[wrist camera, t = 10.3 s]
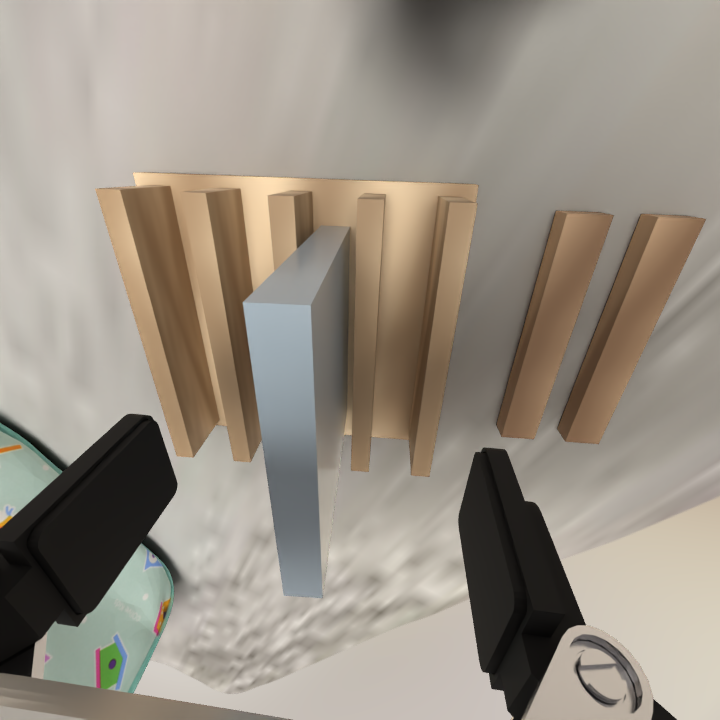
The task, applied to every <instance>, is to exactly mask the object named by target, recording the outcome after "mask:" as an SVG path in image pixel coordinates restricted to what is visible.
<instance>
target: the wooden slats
mask: <svg viewBox="0 0 720 720" xmlns="http://www.w3.org/2000/svg"><path fill="white" fill-rule="evenodd" d="M613 216H614V215H610V214H605V213H600V212H577V211H556V213H555V217H554V220H553V224H552V227H551V231H550V235H549V238H548V242H547V245H546V249H545V252H544V256H543V260H542V263H541V267H540V270H539V274H538V277H537V281H536V285H535V288H534V292H533V295H532V299H531V302H530V306H529V310H528V313H527V317H526V320H525V324H524V327H523V331H522V335H521V338H520V342H519V345H518V349H517V352H516V356H515V360H514V363H513V367H512V370H511V374H510V377H509V381H508V385H507V388H506V392H505V395H504V399H503V402H502V406H501V410H500V413H499V417H498V420H497V424H496V425H497V427H498V430H499V432H500V435H501V437H512V438H525V439H534V438H535V435H536V432H537V429H538V426H539V424H540V421H541V418H542V415H543V412H544V410H545V407H546V404H547V401H548V398H549V396H550V393H551V390H552V387H553V384H554V382H555V379H556V376H557V373H558V370H559V368H560V365H561V362H562V359H563V356H564V353H565V351H566V348H567V345H568V342H569V339H570V337H571V334H572V331H573V328H574V325H575V323H576V320H577V317H578V314H579V311H580V309H581V306H582V303H583V300H584V297H585V295H586V292H587V289H588V286H589V283H590V281H591V278H592V275H593V272H594V269H595V266H596V264H597V261H598V258H599V255H600V252H601V250H602V247H603V244H604V241H605V238H606V236H607V233H608V230H609V227H610V224H611V222H612V219H613ZM705 220H706V219H703V218H697V217H690V216H679V215H654V214H641V216H640V219H639V221H638V224H637V226H636V229H635V231H634V234H633V236H632V239H631V242H630V244H629V247H628V249H627V252H626V254H625V257H624V259H623V262H622V265H621V267H620V270H619V272H618V275H617V277H616V280H615V282H614V285H613V288H612V290H611V293H610V295H609V298H608V300H607V303H606V305H605V308H604V311H603V313H602V316H601V318H600V321H599V323H598V326H597V328H596V331H595V334H594V336H593V339H592V341H591V344H590V346H589V349H588V351H587V354H586V357H585V359H584V362H583V364H582V367H581V369H580V372H579V374H578V377H577V380H576V382H575V385H574V387H573V390H572V392H571V395H570V397H569V400H568V403H567V405H566V408H565V410H564V413H563V415H562V418H561V420H560V423H559V426H558V428H557V429H558V431H559V432H560V434H561V436H562V437H563V439H564V440H565V442H579V443H592V444H599V442H600V440H601V438H602V436H603V434H604V431H605V429H606V427H607V425H608V423H609V421H610V419H611V417H612V415H613V413H614V411H615V408H616V406H617V404H618V402H619V400H620V398H621V396H622V394H623V392H624V390H625V388H626V385H627V383H628V381H629V379H630V377H631V375H632V373H633V371H634V369H635V367H636V365H637V362H638V360H639V358H640V356H641V354H642V352H643V350H644V348H645V346H646V344H647V342H648V339H649V337H650V335H651V333H652V331H653V329H654V327H655V325H656V323H657V321H658V319H659V316H660V314H661V312H662V310H663V308H664V306H665V304H666V302H667V300H668V298H669V296H670V293H671V291H672V289H673V287H674V285H675V283H676V281H677V279H678V277H679V275H680V273H681V270H682V268H683V266H684V264H685V262H686V260H687V258H688V256H689V254H690V252H691V250H692V247H693V245H694V243H695V241H696V239H697V237H698V235H699V233H700V231H701V229H702V227H703V224H704V222H705Z"/></svg>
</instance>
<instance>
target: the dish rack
mask: <svg viewBox="0 0 720 720" xmlns="http://www.w3.org/2000/svg"><path fill="white" fill-rule="evenodd" d="M133 175H134V179H135V183H136V186H129V187H114V188H99V189H95V190H96V193H97V196H98V200H99V203H100V206H101V209H102V213H103V216H104V219H105V223H106V226H107V229H108V232H109V236H110V239H111V242H112V245H113V249H114V252H115V255H116V259H117V262H118V265H119V268H120V272H121V275H122V278H123V281H124V285H125V288H126V291H127V295H128V298H129V301H130V304H131V308H132V311H133V314H134V317H135V321H136V324H137V327H138V331H139V334H140V337H141V340H142V344H143V347H144V350H145V353H146V357H147V360H148V363H149V367H150V370H151V373H152V376H153V380H154V383H155V386H156V389H157V393H158V396H159V399H160V403H161V406H162V409H163V412H164V416H165V419H166V422H167V426H168V429H169V432H170V435H171V439H172V442H173V445H174V448H175V452H176V455H177V456H181V457H193V458H194V456H195V455H196V453H197V452H198V450H199V449H200V447H201V446H202V444H203V443H204V442H205V440H206V439H207V437H208V436H209V434H210V433H211V431H212V430H213V428H214V427H215V425H222V426H227V429H228V434H229V439H230V444H231V449H232V454H233V459H234V461H242V462H251V461H252V459H253V457H254V454H255V452H256V450H257V448H258V446H259V444H260V442H261V440H262V436H261V429H260V422H259V415H258V408H257V401H256V394H255V386H254V379H253V372H252V365H251V358H250V351H249V344H248V337H247V329H246V322H245V315H244V308H243V302H244V301H245V300H246V299H247V298H248V297H249V296H250V295H251V294H252V293H253V292H254V291H255V290H256V289H257V288H258V287H259V286H260V285H261V284H262V283H263V282H264V281H265V280H266V279H267V278H268V277H269V276H270V275H271V274H272V273H273V272H274V271H275V270H276V269H277V268H278V267H279V266H280V265H281V264H282V263H283V262H284V261H285V260H286V259H287V258H288V257H289V256H290V255H291V254H292V253H293V252H294V251H295V250H296V249H297V248H299V247H300V246H301V245H302V244H303V243H304V242H305V241H306V240H307V239H308V238H309V237H310V236H311V235H312V234H313V233H314V232H315V231H316V230H317V229H318V228H319V227H320V226H321V225H324V226H350V260H349V327H348V394H347V416H346V424H345V432H344V435H352V449H351V470H352V471H364V472H369V460H370V447H371V437H379V438H392V439H405V440H409V448H410V464H411V475H413V476H425V477H429V475H430V470H431V464H432V458H433V453H434V447H435V441H436V436H437V430H438V424H439V419H440V413H441V407H442V402H443V396H444V391H445V385H446V379H447V374H448V368H449V362H450V357H451V351H452V345H453V340H454V334H455V328H456V323H457V317H458V312H459V306H460V300H461V295H462V289H463V283H464V278H465V272H466V266H467V261H468V255H469V249H470V244H471V238H472V233H473V227H474V221H475V216H476V210H477V204H478V203H476V198H477V192H478V186H479V185H476V184H457V183H428V182H400V181H372V180H344V179H316V178H288V177H260V176H232V175H204V174H176V173H148V172H142V173H133Z"/></svg>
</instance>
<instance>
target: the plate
mask: <svg viewBox="0 0 720 720" xmlns="http://www.w3.org/2000/svg"><path fill="white" fill-rule="evenodd" d="M349 260H350V226H324V225H321V226H320V227H319V228H318V229H317V230H316V231H315V232H314V233H313V234H312V235H311V236H310V237H309V238H308V239H307V240H306V241H305V242H304V243H303V244H302V245H301V246H300V247H299V248H297V249H296V250H295V251H294V252H293V253H292V254H291V255H290V256H289V257H288V258H287V259H286V260H285V261H284V262H283V263H282V264H281V265H280V266H279V267H278V268H277V269H276V270H275V271H274V272H273V273H272V274H271V275H270V276H269V277H268V278H267V279H266V280H265V281H264V282H263V283H262V284H261V285H260V286H259V287H258V288H257V289H256V290H255V291H254V292H253V293H252V294H251V295H250V296H249V297H248V298H247V299H246V300H245V301H244V302H243V308H244V315H245V322H246V329H247V337H248V344H249V351H250V358H251V365H252V372H253V379H254V386H255V394H256V401H257V408H258V415H259V422H260V429H261V436H262V443H263V451H264V458H265V465H266V472H267V479H268V486H269V493H270V500H271V508H272V515H273V522H274V529H275V536H276V543H277V550H278V557H279V565H280V572H281V579H282V586H283V593H284V596H298V597H313V598H323V592H324V585H325V577H326V569H327V562H328V554H329V546H330V539H331V531H332V523H333V516H334V508H335V500H336V493H337V485H338V477H339V470H340V462H341V455H342V447H343V439H344V432H345V424H346V416H347V394H348V327H349Z"/></svg>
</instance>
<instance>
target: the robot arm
mask: <svg viewBox="0 0 720 720" xmlns="http://www.w3.org/2000/svg"><path fill="white" fill-rule="evenodd" d="M176 490H177V480H176V477H175V474H174V471H173V468H172V465H171V462H170V459H169V456H168V453H167V450H166V447H165V444H164V441H163V438H162V435H161V432H160V429H159V426H158V424H157V422H156V421H154V420H153V418H152V417H151V416H148V415H139V414H127V415H126V416H124V417H123V418H122V419H121V420H120V421H119V422H118V423H116V424H115V425H114V426H113V427H112V428H111V429H110V430H109V431H108V432H107V433H105V434H104V435H103V436H102V437H101V438H100V439H99V440H98V441H97V442H95V443H94V444H93V445H92V446H91V447H90V448H89V449H88V450H87V451H85V452H84V453H83V454H82V455H81V456H80V457H79V458H78V459H77V460H76V461H74V462H73V463H72V464H71V465H70V466H69V467H68V468H67V469H66V470H64V471H63V472H62V473H61V474H60V475H59V476H58V477H57V478H56V479H54V480H53V481H52V482H51V483H50V484H49V485H48V486H47V487H46V488H44V489H43V490H42V491H41V492H40V493H39V494H38V495H37V496H36V497H35V498H33V499H32V500H31V501H30V502H29V503H28V504H27V505H26V506H25V507H23V508H22V509H21V510H20V511H19V512H18V513H17V514H16V515H15V516H13V517H12V518H11V519H10V520H9V521H8V522H7V523H6V524H5V525H4V526H2V527H1V528H0V720H291V719H284V718H279V717H273V716H267V715H261V714H255V713H249V712H243V711H237V710H231V709H225V708H219V707H213V706H207V705H201V704H195V703H188V702H182V701H176V700H170V699H164V698H157V697H152V696H145V695H139V694H133V693H127V692H121V691H115V690H108V689H102V688H96V687H89V686H83V685H77V684H70V683H64V682H58V681H51V680H45V679H43V676H44V664H45V653H46V641H47V631H48V630H49V629H50V627H51V626H52V625H53V623H54V622H55V621H56V622H57V624H61V625H68V626H75V627H78V626H79V625H80V623H81V622H82V621H83V619H84V618H85V616H86V615H87V614H89V613H91V612H92V611H93V610H95V608H96V607H97V606H98V605H99V603H100V602H101V600H102V599H103V597H104V596H105V595H106V593H107V592H108V590H109V589H110V587H111V586H112V584H113V583H114V582H115V580H116V579H117V577H118V576H119V574H120V573H121V571H122V570H123V569H124V567H125V566H126V564H127V563H128V561H129V560H130V558H131V557H132V556H133V554H134V553H135V551H136V550H137V548H138V547H139V545H140V544H141V543H142V541H143V540H144V538H145V537H146V535H147V534H148V532H149V531H150V530H151V528H152V527H153V525H154V524H155V522H156V521H157V519H158V518H159V517H160V515H161V514H162V512H163V511H164V509H165V508H166V506H167V505H168V504H169V502H170V501H171V499H172V498H173V496H174V495H175V493H176ZM458 523H459V532H460V539H461V545H462V552H463V558H464V565H465V571H466V578H467V584H468V591H469V597H470V604H471V610H472V616H473V623H474V629H475V636H476V643H477V649H478V655H479V662H480V666H481V669H482V671H483V672H486V673H489V676H490V682H491V688H492V689H497V690H503V691H504V694H505V700H506V704H507V710H508V712H509V713H510V714H511V715H512V718H511V720H677V719H676V718H674V717H673V716H672V715H671V714H670V713H669V712H668V711H666V710H665V709H664V708H663V707H662V706H661V705H660V704H659V703H657V702H656V701H655V700H654V699H653V695H652V691H651V688H650V685H649V681H648V679H647V677H646V675H645V674H644V672H643V670H642V668H641V666H640V665H639V663H638V662H637V661H636V659H635V658H634V657H633V656H632V654H631V653H630V652H629V651H628V650H627V649H626V648H625V647H624V646H623V645H622V644H621V643H620V642H618V641H617V640H616V639H615V638H613V637H612V636H610V635H609V634H607V633H605V632H603V631H602V630H599V629H597V628H594V627H591V626H586V624H585V622H584V619H583V617H582V614H581V612H580V609H579V607H578V604H577V602H576V599H575V596H574V594H573V591H572V589H571V586H570V584H569V581H568V579H567V577H566V574H565V571H564V569H563V566H562V564H561V561H560V559H559V556H558V554H557V551H556V549H555V546H554V544H553V541H552V538H551V536H550V533H549V531H548V528H547V526H546V523H545V521H544V518H543V516H542V513H541V511H540V509H539V507H538V506H537V505H536V504H535V503H534V502H528V501H525V500H524V498H523V495H522V492H521V489H520V487H519V484H518V481H517V478H516V475H515V473H514V470H513V467H512V464H511V462H510V459H509V456H508V454H507V451H506V450H505V449H494V448H483V449H482V451H481V453H480V452H476V453H475V455H474V458H473V462H472V466H471V470H470V474H469V477H468V481H467V485H466V489H465V493H464V497H463V501H462V504H461V508H460V512H459V519H458Z"/></svg>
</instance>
